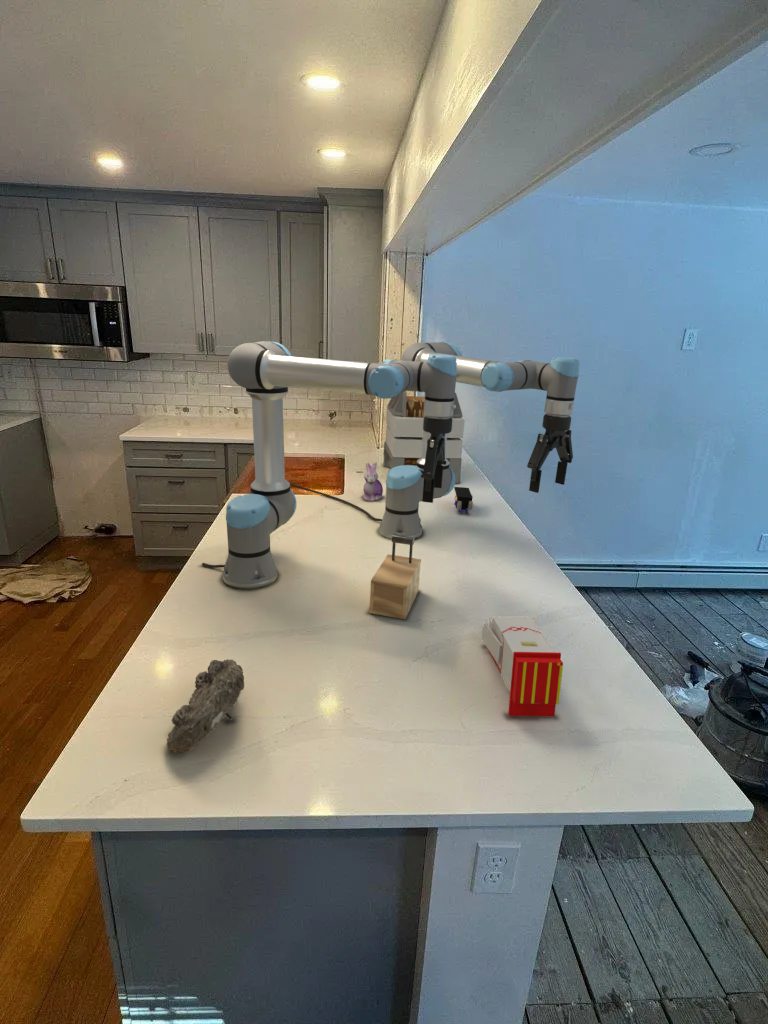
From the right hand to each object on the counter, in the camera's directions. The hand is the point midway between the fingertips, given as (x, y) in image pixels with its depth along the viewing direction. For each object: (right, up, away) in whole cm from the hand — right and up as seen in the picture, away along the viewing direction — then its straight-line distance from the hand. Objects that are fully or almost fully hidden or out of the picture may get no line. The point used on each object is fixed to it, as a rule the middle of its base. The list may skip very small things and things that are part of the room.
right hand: (546, 487), depth 165 cm
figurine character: (-16, -6, +62) cm, 65 cm away
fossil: (-80, -46, -57) cm, 109 cm away
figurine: (-52, -1, +71) cm, 88 cm away
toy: (-19, -43, -40) cm, 62 cm away
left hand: (-34, -2, -11) cm, 36 cm away
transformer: (-30, +12, +110) cm, 115 cm away
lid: (-44, -23, -14) cm, 52 cm away
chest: (-45, -32, -11) cm, 56 cm away
